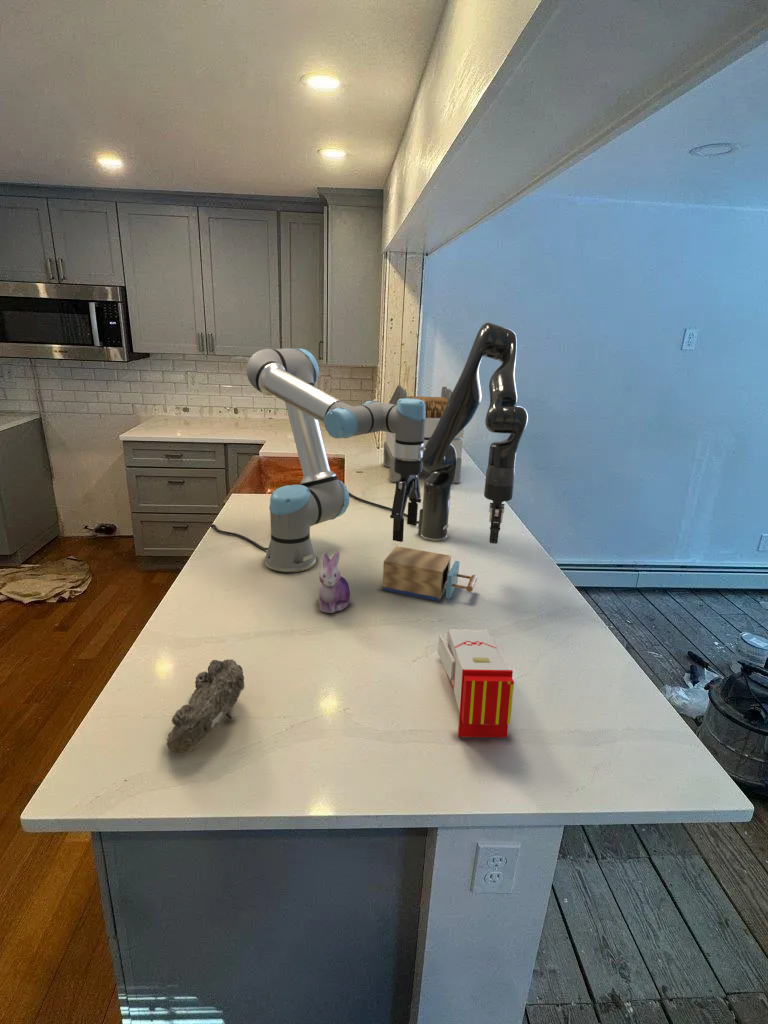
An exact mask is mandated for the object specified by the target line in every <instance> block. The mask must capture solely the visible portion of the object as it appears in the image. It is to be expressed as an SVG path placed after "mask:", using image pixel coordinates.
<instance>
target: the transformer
mask: <svg viewBox="0 0 768 1024" xmlns="http://www.w3.org/2000/svg"><path fill="white" fill-rule="evenodd" d="M452 392H453V390H452V389H451V388H447V386H442V387H441V392H440V393H441V394H440V396H415V395H414V396H413V395H412V396H411V395H407V394H408V393H407V390H406V389H404V388H403V387H402V385H399V384H398V385H397V386H396V388H395V390H394V392H393V394H392V395H391V398H390V400H389V402H387V403H388V404H394V405H397V401H398V400H399V399H403V398H412V399H420V400H423V401H424V402H425V415H426V419H425V429H424V445H423V447H425V445H426V444H427V442H428V441H429V439H430V437H431V436H432V434H433V432H434V430H435V429H436V427H437V424H438V422H439V420H440V418H441V416H442V414H443V412H444V410H445V408H446V405H447V403H448V401H449V398H450V396H451V394H452ZM464 429H465V427H464V428H463V430H462V431H461V432H460V433H459V434H458V435H457V436H456V437H455V438H454V439H453V440H452V442H451V443H450V444H452V445H453V447H454V448H455V450H456V455H457V462H456V470H455V477H454V482H453V484H455V483H456V484H459V483H461V472H462V461H463V460H462V453H463V442H464V441H463V440H462V439H463V438H464V431H465V430H464ZM395 441H396V433H390V432H385V438H384V442H383V466H384V467H388V468H389V475H388V476H389V477H388V478H389V480H390V482H391V483H396V481H399V479H400V478H401V475H400V474H398V473H396V472H395V471H394V465H395V459H396V458H397V457H395Z"/></svg>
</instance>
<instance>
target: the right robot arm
mask: <svg viewBox="0 0 768 1024" xmlns="http://www.w3.org/2000/svg"><path fill="white" fill-rule="evenodd" d="M517 342H518V341H517V334H516V332H514V331H513V330H512V329H509V328H508V327H507V328H506V327H504V326H501V325H498V324H495V323H492V322H489V321H487V322H484V323H483V324H482V325H481V326H480V328H479V329H478V332H477V333H476V336H475V338H474V341H473V343H472V346H471V348H470V351H469V354H468V356H467V359H466V362H465V364H464V367H463V369H462V371H461V374H460V376H459V377H458V380H457V382H456V384H455V386H454V388H453V390H452V394H451V396H450V398H449V401H448V403H447V405H446V408H445V410H444V412H443V414H442V416H441V418H440V420H439V422H438V424H437V427H436V429H435V430H434V432H433V434H432V436H431V437H430V439H429V441H428V442H427V444H426V445H425V451H423V457H422V458H421V459H422V460H423V466H422V469H423V470H424V471H426V472H428V473H431V474H430V475H429V476H428V477H427V478H426V479H425V480H424V482H423V493H422V496H423V497H422V506H421V508H420V509H419V516H418V520H417V525H418V526H417V529H418V530H417V535H418V536H420V538H421V539H424V540H426V541H432V542H440V541H444V540H446V539H447V538H448V528H449V526H450V525H449V517H450V516H449V514H450V504H451V494H452V493H451V491H452V486H453V484H454V483H453V482H454V477H455V470H456V462H457V455H456V450H455V448H454V447H453V445H452V444H450V443H451V442H452V440H453V439H454V438H455V437H456V436H457V435H458V434H459V433H460V432H461V431H462V430H463V428H464V429H465V427H467V426H468V424H470V422H471V421H472V419H473V418H474V416H475V414H476V413H477V411H478V408H479V406H480V405H481V402H482V388H481V383H480V373H479V372H480V365H481V362H482V359H483V358H484V357H485V358H488V359H492V360H495V361H499V362H500V365H499V367H497V368H496V369H495V370H494V371H493V373H492V374H491V375H490V379H489V383H488V391H489V406H488V409H487V412H486V416H485V427H486V429H487V430H488V432H490V433H492V434H508V437H506V438H505V439H502V440H498V441H497V440H496V441H493V442H492V443H491V444H490V445H489V452H488V460H487V462H488V463H487V467H486V472H485V482H484V490H483V491H484V492H483V496H484V498H485V499H486V500H489V501H492V502H489V509H488V512H489V518H488V521H489V523H490V526H489V531H490V532H489V539H488V541H489V544H495V545H496V544H498V542H499V534H500V533H499V532H500V530H501V524H502V523H503V519H504V518H503V517H504V512H505V506H506V505H505V503H504V502H510V501H511V500H512V499H513V495H514V487H515V478H516V462H517V461H516V460H517V452H518V448H519V445H520V442H521V440H522V437H523V435H524V433H525V430H526V428H527V425H528V421H529V415H528V411H527V410H526V408H524V407H523V406H520V405H516V404H517V402H518V393H517V386H516V378H515V377H516V375H515V373H516V371H515V370H516V361H517V348H518V347H517V345H518V343H517ZM349 497H351V498H353V499H355V500H358V501H360V502H363V503H366V504H368V505H371V506H374V507H378V508H381V509H385V510H388V511H391V512H392V507H390V506H386V505H382V504H379V503H376V502H373V501H369V500H366V499H363V498H361V497H358V496H356V495H354V494H352V493H351V492H349ZM407 516H408V513H405V512H404V515H403V517H406V518H407Z"/></svg>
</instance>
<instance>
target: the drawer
mask: <svg viewBox="0 0 768 1024" xmlns="http://www.w3.org/2000/svg"><path fill="white" fill-rule="evenodd" d="M459 570H460V561H459V560H455V561H454V563H453V565H452V566H451V567H450V572H449V574H448V571H449V563H448V565H447V566H446V568H445V570H444V572H443V573H442V584H441V593H442V591H443V589H444V587H445V585H446V583H447V587H446V589H445V599H447V600H451V597H452V595H453V593H454V591H455V589H456V588H458V589H464V590H466V592H468V593H471V592H473V590H474V588H475V585H476V583H477V580H478V576H477V575H476V574H472V575H465V574H461V573H459V572H460V571H459ZM459 578H464V579H468V583H467V584H466V585H461V584H458V581H459Z"/></svg>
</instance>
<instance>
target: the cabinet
mask: <svg viewBox="0 0 768 1024" xmlns="http://www.w3.org/2000/svg"><path fill="white" fill-rule="evenodd" d="M451 562H452V555H449V554H444V553H438V552H432V551H426V550H421V549H415V548H409V547H405V546H404V547H403V546H398V545H396V546H395V547H394V548H393V549H392V551H391V552H390V553H389V554H388V555H387V556H386V558H385V559H384V560H383V569H382V588H381V589H382V591H385V592H390V593H395V594H401V595H405V596H410V597H415V598H420V599H424V600H425V599H426V600H430V601H435V602H441V599H442V597H443V595H444V593H445V592H446V587H447V583H446V585H445V587H444V589H443V591H442V593H441V584H442V573H443V572H444V570H445V568H446V566H447V565H448V563H449V571H448V574H449V572H450V570H451Z"/></svg>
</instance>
